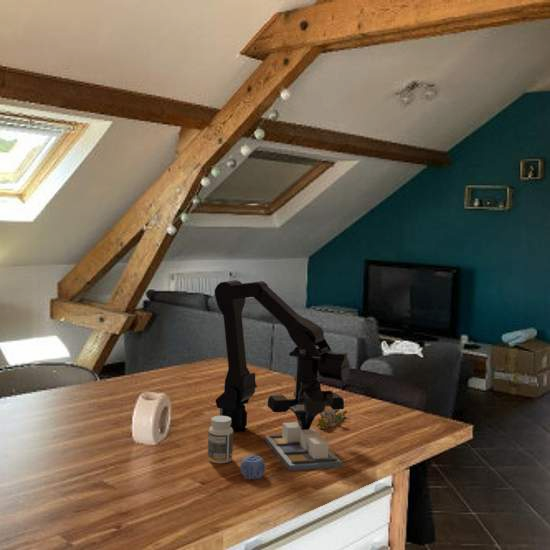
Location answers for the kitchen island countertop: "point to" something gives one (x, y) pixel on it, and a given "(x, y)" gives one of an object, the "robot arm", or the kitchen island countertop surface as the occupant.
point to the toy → (330, 418)
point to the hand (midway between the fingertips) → (304, 435)
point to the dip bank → (299, 455)
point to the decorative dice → (252, 467)
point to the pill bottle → (220, 440)
